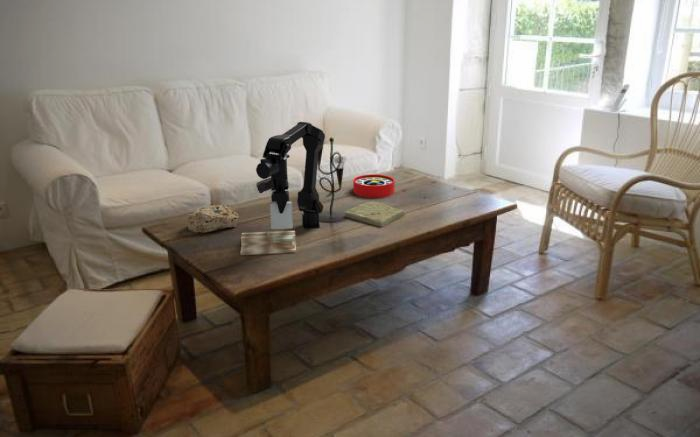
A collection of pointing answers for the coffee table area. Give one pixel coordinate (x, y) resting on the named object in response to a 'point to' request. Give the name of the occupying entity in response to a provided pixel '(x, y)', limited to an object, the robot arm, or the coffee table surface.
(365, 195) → the toy clock
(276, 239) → the offcut stack
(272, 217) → the sheet
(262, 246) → the rack
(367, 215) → the decorative tile
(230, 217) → the rock
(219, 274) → the coffee table surface
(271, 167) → the robot arm
